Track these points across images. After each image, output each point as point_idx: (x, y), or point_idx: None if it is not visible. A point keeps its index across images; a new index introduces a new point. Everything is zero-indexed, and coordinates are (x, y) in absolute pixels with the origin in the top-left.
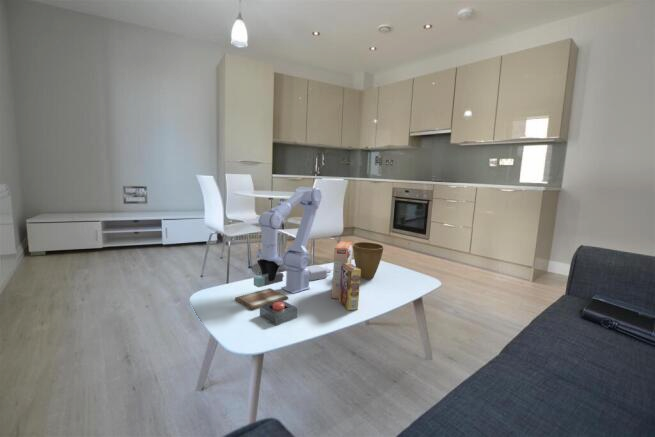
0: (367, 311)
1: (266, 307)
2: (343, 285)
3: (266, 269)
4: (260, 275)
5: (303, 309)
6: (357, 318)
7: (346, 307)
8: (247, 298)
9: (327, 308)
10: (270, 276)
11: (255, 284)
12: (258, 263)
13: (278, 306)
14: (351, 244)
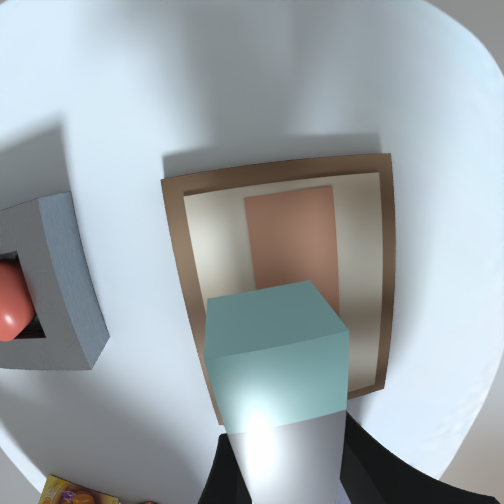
0: (43, 487)
1: (11, 232)
2: None
3: (362, 500)
4: (336, 415)
5: (79, 406)
6: (5, 451)
7: (61, 481)
8: (324, 213)
9: (72, 456)
10: (215, 478)
11: (274, 294)
12: (469, 499)
13: None
14: None
